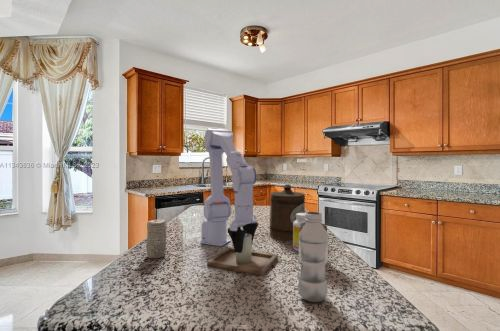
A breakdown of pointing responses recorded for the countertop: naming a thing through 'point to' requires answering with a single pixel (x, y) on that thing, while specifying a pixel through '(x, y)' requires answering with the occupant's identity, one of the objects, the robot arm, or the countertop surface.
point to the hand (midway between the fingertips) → (243, 248)
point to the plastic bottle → (313, 259)
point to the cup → (245, 251)
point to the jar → (300, 247)
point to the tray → (255, 267)
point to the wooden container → (285, 212)
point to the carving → (156, 238)
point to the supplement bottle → (297, 229)
